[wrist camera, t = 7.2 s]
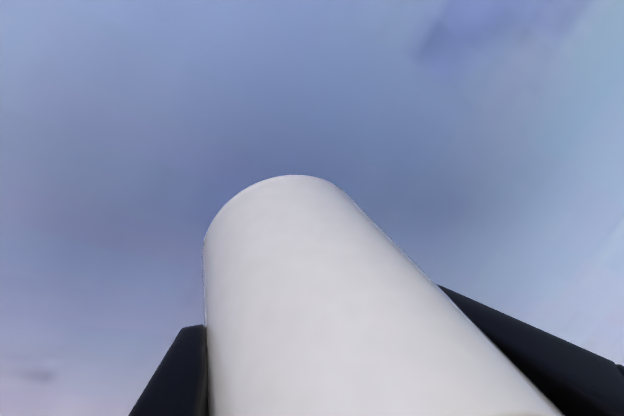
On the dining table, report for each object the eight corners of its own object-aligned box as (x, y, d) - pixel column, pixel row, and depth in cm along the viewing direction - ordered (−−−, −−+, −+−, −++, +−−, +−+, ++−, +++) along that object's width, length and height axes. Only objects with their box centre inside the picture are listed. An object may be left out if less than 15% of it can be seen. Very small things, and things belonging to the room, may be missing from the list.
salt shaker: (210, 333, 11) (250, 998, 3) (191, 181, 9) (187, 944, 1) (359, 305, 12) (635, 749, 5) (371, 167, 10) (879, 540, 3)
